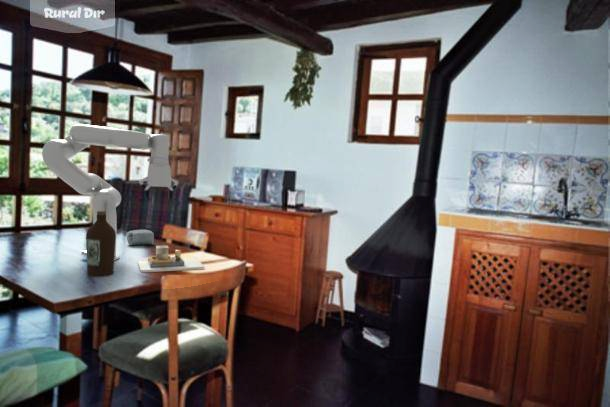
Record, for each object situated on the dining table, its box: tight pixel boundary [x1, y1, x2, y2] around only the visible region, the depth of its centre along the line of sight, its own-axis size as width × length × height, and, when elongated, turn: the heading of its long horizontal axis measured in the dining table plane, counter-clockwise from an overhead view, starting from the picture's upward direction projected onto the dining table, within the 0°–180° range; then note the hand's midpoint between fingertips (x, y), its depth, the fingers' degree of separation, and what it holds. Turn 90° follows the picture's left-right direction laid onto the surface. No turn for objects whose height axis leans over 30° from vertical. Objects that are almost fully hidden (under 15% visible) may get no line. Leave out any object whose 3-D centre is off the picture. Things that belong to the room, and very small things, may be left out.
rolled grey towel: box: [126, 229, 155, 246], centre depth 227 cm, size 14×10×10 cm
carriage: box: [147, 249, 184, 267], centre depth 185 cm, size 14×10×6 cm
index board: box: [136, 258, 205, 273], centre depth 186 cm, size 26×16×1 cm, turn 116°
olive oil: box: [85, 211, 117, 277], centre depth 167 cm, size 11×11×25 cm
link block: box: [155, 245, 169, 260], centre depth 184 cm, size 5×5×6 cm
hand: (158, 199), depth 194 cm, fingers open, 9 cm apart
